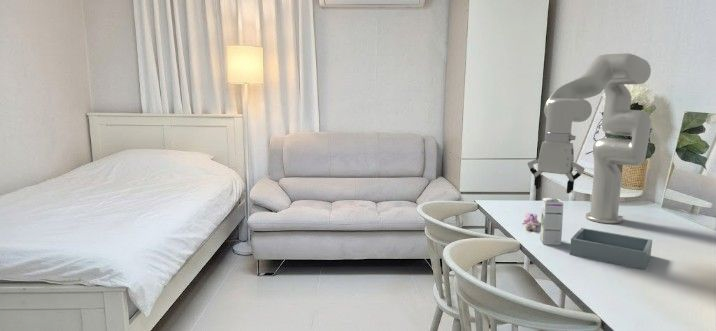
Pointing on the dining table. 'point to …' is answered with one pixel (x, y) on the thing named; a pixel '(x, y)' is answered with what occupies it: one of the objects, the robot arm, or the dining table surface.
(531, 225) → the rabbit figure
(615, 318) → the dining table surface
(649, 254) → the crate
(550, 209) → the syrup box
